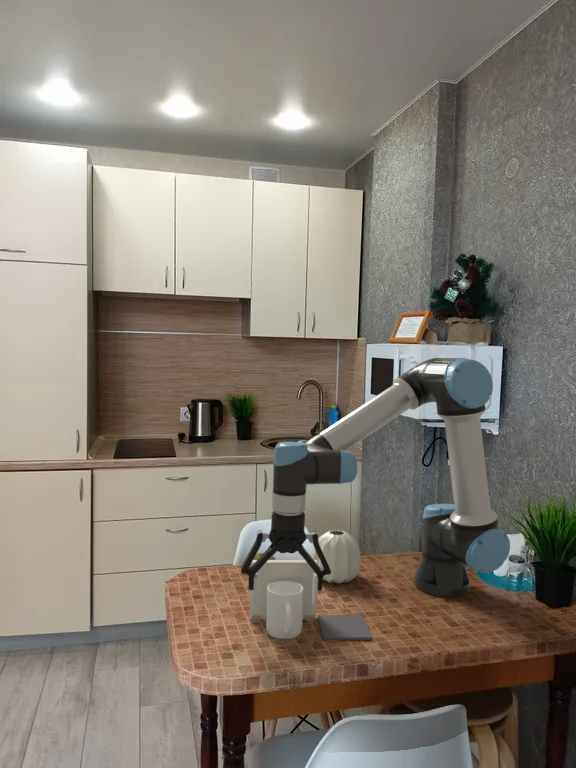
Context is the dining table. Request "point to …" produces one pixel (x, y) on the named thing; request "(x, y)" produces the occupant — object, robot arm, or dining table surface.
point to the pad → (344, 627)
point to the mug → (284, 609)
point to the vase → (339, 556)
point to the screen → (283, 572)
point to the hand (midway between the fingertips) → (284, 603)
